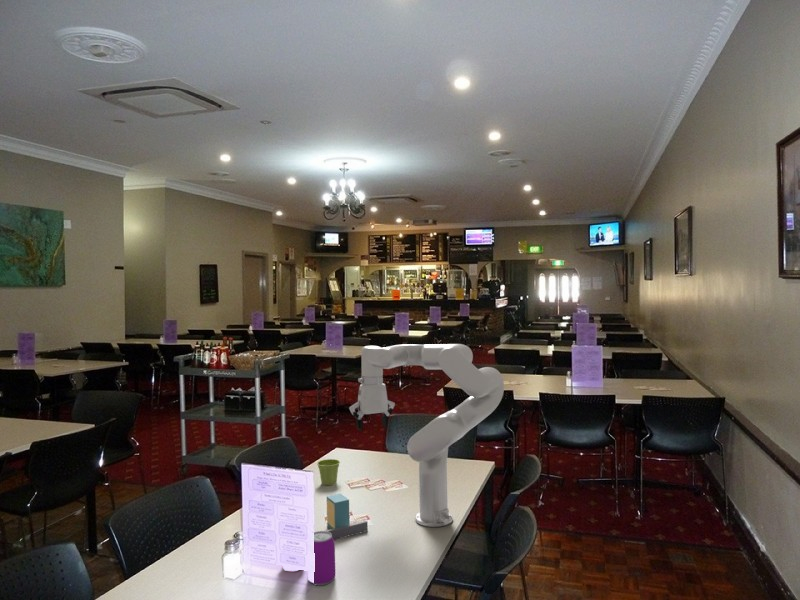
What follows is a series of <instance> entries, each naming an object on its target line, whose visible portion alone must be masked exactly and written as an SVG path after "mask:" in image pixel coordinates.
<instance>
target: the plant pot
mask: <svg viewBox="0 0 800 600" xmlns="http://www.w3.org/2000/svg"><path fill="white" fill-rule="evenodd" d="M340 464H341V461H340V459H335V458H334V459H332V458H328V459H322V460H319V461H317V462H316V465H317V466H318V471H319V475H320V482H321V484H322V485H323V486H334V485H336V484H337V482H338V472H339V466H340Z"/></svg>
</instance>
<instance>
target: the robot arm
mask: <svg viewBox="0 0 800 600" xmlns="http://www.w3.org/2000/svg"><path fill="white" fill-rule="evenodd" d="M360 355H361V357H360V358H361V375H360V377H359V378H358V379H357V380H358V383H361V384H360V385H359V388H358V395H357V402H355V403H353V404H352V405H351V406H349V407H348V409H349V411H350V413H351V415H352V416H353V417H354V418H355V419H356V428H357V430H358V431H360V432H362V431H363V429H364V427H363V425H364V423H363V422H364V421H363V419H362V418H363V416H364V415H371V414H372V415H373V414H379V413H382V416H381V425H382V427H384V428H386V429H387V428H388V425H389V416H390V414H391V413H392V412H393V409H394V407H395V406H396V405H395V404H396V403H395V402H393V401H391V400H389V399H388V393H387V386H386V384H385V383H383V382H384V378H383V377H384V376H383V375H384V370H383V369H385V370H386V369H387V370H390V369H395V368H396V367H400V366H401V367H402V366H421V367H423V368H424V370H434V371H435V370H442V371H443V372H444V373H445V375H446V376H447V377H449V378H450V379H451V380H452V382H453V383H455V384H456V385H458V387H459V388H460V389H461V390H463V392H464V393H465V394H467V395H468V396H469V397H467V398H466V399H465V400H463V402H461V403H460V404H458V405H457V406H455V407H454V408H452V409H450V410H448V411H446V412H444V413H442V414H440V415H439V416H436V417H435V418H433V420H431V421H430V422H428V424H425V426H423V427H422V428H420V429H419V430H418V431H417V432H415V433H414V434H412V436H410V438H408V439H409V440H408V442H407V445H406V447H407V448H406V449H407V453H408V455H409V457H410V458H411V459H412V460H413V461H415V462H416V463H418V484H419V485H418V489H419V491H418V492H419V493H418V495H419V512H417V513H416V514H415V522H416V523H418V524H419V525H421V526H424V527H430V528H440V527H444V526H447V525H449V524H451V523H452V521H453V520H454V519H453V515H452V513H450V512H449V511H450V510H449V507H448V503H449V502H448V500H449V499H448V453H449V447H450V446H451V445H453V444H454V443H456V442H458V440H460V439H462V438H463V437H464V436H465V435H466V434H467V433H469V431H470V430H472V429H473V428H474V427H476V426H477V425H479V424H480V423H481V422H482V421H484V420H485V419H486V418H487V417H488V416H490V415H491V414H492V413H493V412H494V411H495V410H496V409H497V407H498V406H499V405H500V403H501V401H502V399H503V397H504V391H505V384H504V378H503V376H502V374H501V372H500V371H499V370H498V369H497V368H494V367H492V366H491V367H490V366H485V367H481V368H478V367H476V366H475V365H474V364H473V363H472V362H473V359H474V358H473V357H474V355H473V351H472V349H471V348H470V347H469V346H468V345H465V344H462V343H447V344H446V343H443V344H442V343H440V344H439V343H437V344H436V343H435V344H433V343H432V344H430V343H429V344H426V343H425V344H424V343H423V344H395V345H389V346H386V347H385V346H384V347H381V346H378V345H365V346H363V347H362V348H361V354H360ZM356 409H357V410H358V411H357V412H356Z"/></svg>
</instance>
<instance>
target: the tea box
mask: <svg viewBox="0 0 800 600" xmlns="http://www.w3.org/2000/svg"><path fill="white" fill-rule="evenodd" d="M350 518H351V517H350V499H349V498H347V497H346V495H345V496H344V495H343V493H335V494H331V495H327V496H326V523H327V524H326V526H327V527H328V528H329V530H330V529H334V528H338V527H342V526H346V525H350Z"/></svg>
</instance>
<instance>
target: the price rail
mask: <svg viewBox="0 0 800 600" xmlns="http://www.w3.org/2000/svg"><path fill="white" fill-rule="evenodd" d="M368 526H369V525H368V521H367V520H363V521H359V522H355V523H351V524H350V525H346V526H342V527H338V528H334V529H330V528H329V529H326V530H325V531H327V532H330V533H331V534H332V537H333V540H334V541H335V540H338V539H342V538H346V537H349V536H348V535H350V536H353V535H352V534H354V535H357V534H356V533H358V534H361V533H360V532H362V533H365V532H364V531H366V532H368V529H369V528H368ZM345 536H346V537H345ZM341 537H342V538H341ZM337 538H338V539H337Z"/></svg>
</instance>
